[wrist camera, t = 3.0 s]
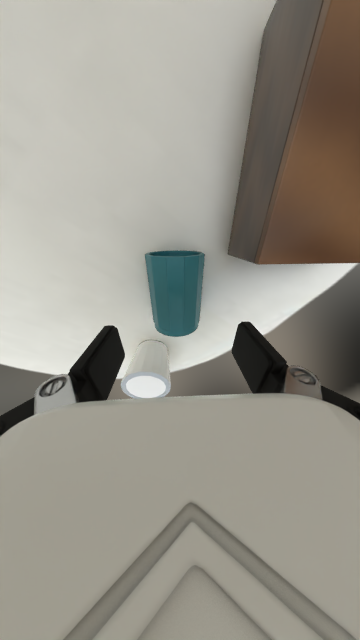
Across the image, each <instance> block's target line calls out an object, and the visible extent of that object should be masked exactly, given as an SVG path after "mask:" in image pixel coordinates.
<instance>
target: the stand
mask: <svg viewBox="0 0 360 640" xmlns="http://www.w3.org/2000/svg"><path fill="white" fill-rule="evenodd" d="M228 255H231V256H234V257H237V258H240V259H243V260H246V261H249V262H252V263H255V264H319V263H360V0H277V2H276V4H275V6H274V8H273V11H272V13H271V15H270V18H269V20H268V22H267V24H266V27H265V29H264V34H263V41H262V47H261V53H260V59H259V65H258V71H257V77H256V84H255V90H254V96H253V102H252V108H251V114H250V120H249V127H248V133H247V139H246V145H245V151H244V157H243V163H242V170H241V176H240V182H239V188H238V194H237V200H236V206H235V212H234V219H233V225H232V231H231V237H230V243H229V249H228Z"/></svg>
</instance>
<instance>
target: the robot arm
mask: <svg viewBox="0 0 360 640" xmlns="http://www.w3.org/2000/svg"><path fill="white" fill-rule="evenodd" d="M232 354H233V356H234V358H235V360H236V362H237V364H238V366H239V368H240V370H241V372H242V374H243V376H244V378H245V379H246V381H247V383H248V385H249V387H250V389H251V391H252V393H253V394H230V395H206V396H185V397H184V396H182V397H160V398H140V399H120V400H107V398H108V396H109V393H110V391H111V388H112V386H113V384H114V381H115V379H116V377H117V374H118V372H119V369H120V367H121V365H122V362H123V360H124V357H125V353H124V349H123V346H122V343H121V339H120V336H119V333H118V329H117V328H116V327H114V326H104V328H103V329H102V330H101V331H100V333H99V334H98V335H97V336H96V338H95V339H94V340H93V341H92V343H91V344H90V345H89V346H88V348H87V349H86V350H85V351H84V353H83V354H82V355H81V356H80V358H79V359H78V360H77V362H76V363H75V364H74V365H73V367H72V368H71V369H70V372H69V373H68V375H67V374H60V375H56V376H54V377H52V378H50V379H48V380H46V381H45V382H44V383H43V384H41V385H40V386H39V387H38V389H37V390H36V392H35V395H34V396H35V397H34V398H32V399H30V400H28V401H27V402H25V403H23V404H21V405H19V406H17V407H16V408H14V409H12V410H10V411H8V412H7V413H5V414H3V415H1V416H0V640H360V403H358V402H355V401H353V400H351V399H349V398H347V397H344V396H343V395H340V394H338V393H336V392H334V391H332V390H330V389H328V388H325V387H323V386H321V385H320V381H319V379H318V378H317V376H316V375H314V374H313V373H312V372H311V371H309V370H307V369H305V368H303V367H300V366H296V365H291V366H288V365H287V364H286V363H287V362H286V361H285V359H284V358H283V357H282V356H281V355H280V354H279V353H278V352H277V351H276V350H275V349H274V347H272V345H271V344H270V343H269V342H268V341H267V340H266V339H265V338H264V337H263V336H262V334H261V333H260V332H259V331H258V330H257V329H256V328H255V327H254V326H253V325H252V324H251V323H250V322H241V323H240V324H239V325H238V328H237V332H236V335H235V339H234V343H233V347H232ZM104 400H105V401H104Z"/></svg>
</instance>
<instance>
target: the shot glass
mask: <svg viewBox="0 0 360 640" xmlns="http://www.w3.org/2000/svg"><path fill="white" fill-rule="evenodd" d="M170 386H171V383H170V370H169V358H168V350H167V347H166V346H165V345H164V344H163V343H161V342H159V341H156V340H148V341H144V342H142V343H141V344H139V346H138V348H137V350H136V352H135V354H134V356H133V359H132V361H131V363H130V365H129V367H128V369H127V372H126V374H125V376H124V378H123V380H122V382H121V387H122V390H123V391H124V392H125V393H126V394H127V395H128V396H130V397H132V398H135V399H140V398H160V397H164V396H166V395H167V393H168V392H169V391H170Z"/></svg>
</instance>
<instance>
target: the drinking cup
mask: <svg viewBox="0 0 360 640" xmlns="http://www.w3.org/2000/svg"><path fill="white" fill-rule="evenodd" d="M204 256H205V254H204V253H202V252H196V251H157V252H150V253H147V254H145V259H146V266H147V274H148V282H149V289H150V297H151V305H152V312H153V320H154V323H155V328H156V329H157V331H158V332H160V333H162V334H164V335H167V336H173V337H178V336H185V335H188V334H191V333H192V332H194V331H195V330H196V329H197V327H198V321H199V317H200V305H201V293H202V280H203V268H204Z"/></svg>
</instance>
